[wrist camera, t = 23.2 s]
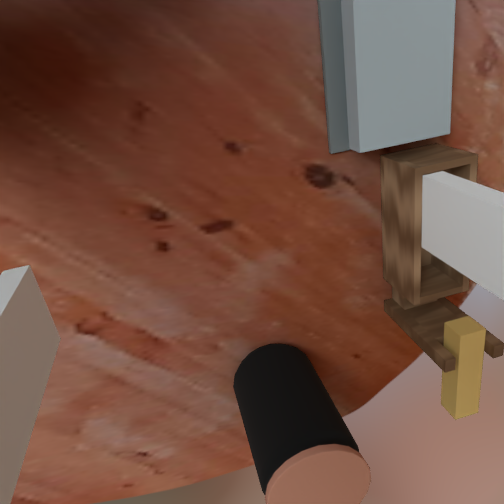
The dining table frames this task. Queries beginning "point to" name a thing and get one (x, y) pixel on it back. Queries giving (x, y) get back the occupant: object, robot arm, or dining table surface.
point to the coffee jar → (297, 431)
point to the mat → (334, 74)
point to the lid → (397, 70)
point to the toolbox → (421, 250)
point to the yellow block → (463, 366)
